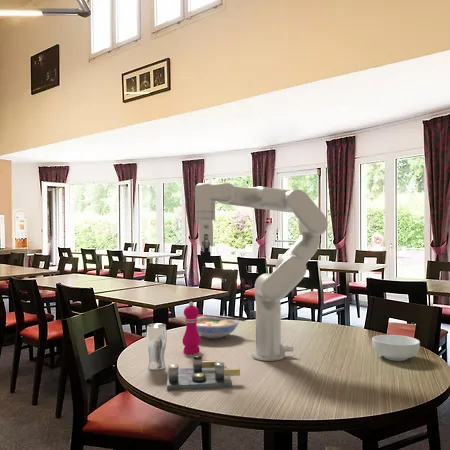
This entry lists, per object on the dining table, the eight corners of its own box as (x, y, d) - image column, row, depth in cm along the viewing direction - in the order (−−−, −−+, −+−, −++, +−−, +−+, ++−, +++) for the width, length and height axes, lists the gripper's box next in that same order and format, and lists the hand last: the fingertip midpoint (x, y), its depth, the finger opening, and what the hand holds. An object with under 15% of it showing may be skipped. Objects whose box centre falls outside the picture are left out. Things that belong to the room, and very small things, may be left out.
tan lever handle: (193, 371, 150) (192, 357, 150) (192, 368, 153) (192, 355, 153) (217, 370, 151) (217, 356, 151) (216, 367, 154) (216, 354, 154)
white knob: (178, 381, 140) (178, 366, 140) (168, 382, 140) (168, 367, 140) (178, 373, 148) (178, 359, 148) (168, 373, 148) (168, 359, 148)
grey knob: (214, 379, 142) (214, 365, 142) (214, 376, 145) (214, 362, 145) (240, 378, 143) (240, 364, 143) (239, 375, 146) (238, 361, 146)
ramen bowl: (176, 338, 201) (176, 320, 201) (207, 328, 220) (207, 311, 220) (222, 346, 187) (222, 327, 187) (251, 335, 206) (250, 317, 206)
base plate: (226, 371, 156) (226, 361, 156) (232, 387, 140) (232, 377, 140) (167, 373, 154) (167, 364, 154) (167, 390, 138) (166, 380, 138)
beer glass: (150, 372, 155) (150, 328, 155) (144, 366, 162) (144, 324, 162) (169, 368, 159) (169, 326, 159) (162, 363, 165) (162, 322, 165)
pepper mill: (198, 355, 175) (197, 303, 175) (180, 354, 177) (179, 303, 177) (202, 350, 182) (202, 300, 182) (185, 349, 184) (185, 300, 184)
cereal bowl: (426, 357, 170) (426, 338, 170) (409, 367, 158) (409, 347, 158) (383, 349, 182) (383, 331, 182) (364, 358, 170) (364, 339, 170)
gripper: (217, 215, 162) (217, 263, 162) (213, 216, 179) (213, 260, 179) (196, 215, 161) (196, 263, 161) (194, 216, 178) (194, 260, 178)
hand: (205, 261), depth 170 cm, fingers open, 9 cm apart
